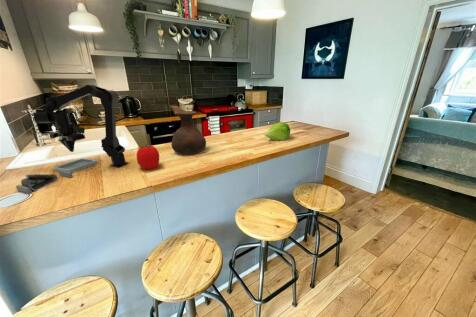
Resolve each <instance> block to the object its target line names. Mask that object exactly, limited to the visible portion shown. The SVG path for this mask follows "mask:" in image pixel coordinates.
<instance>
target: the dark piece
mask: <svg viewBox="0 0 476 317" xmlns="http://www.w3.org/2000/svg"><path fill="white" fill-rule="evenodd" d="M25 177H26V178H22V179H21V181H20V183H21V184H20V185H21V186H25V187H28V188H30V190H31V191H32V190H33V191H35V192H36V191H38V190H39V191H40V190H41V189H44V188H45V187H47V186H49V185H51V184H53V183H55V182H57V181H58V179H59V176H58V175H57V174H54V173H53V174H51V173H50V174H48V173H47V174H46V173H45V174H37V173H36V174H32V173H31V174H26V175H25Z"/></svg>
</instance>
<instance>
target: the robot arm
mask: <svg viewBox="0 0 476 317" xmlns="http://www.w3.org/2000/svg"><path fill="white" fill-rule="evenodd" d="M90 95H92V96H94V97H95V98H97V99H99V100H100V103H101V106H102V107H103V109H104V128H105V137H104V138H102V139H100V141H101V142H100V143H101V146H100V147H101V148H102V150H103V151H104V152H105V153H106V155H107V157H109V158H110V159H111V164H110V165H109V166H111V167H116V168H120V167H123V166H125V165H128V164H129V161H126V158H125V154H124V153H125V151H126V147H124V146H123V145H121V144H120V142H119V138H118V137H117V126H116V125H117V121H116V120H117V119H116V108H117V106H118V103H119V93H117V91H115V90H112V89H111V90H110V89H106V88H103V87H100V86H97V85H95V84H86V85H84V86H82V87H79V88H77V89H74V90H72V91H69V92H67V93H64V94H60V95H53V96H48V97H46V98H45V103H44V104H45V105H44V107H43V109H42V108H37V109H35V112H34V115H33V118H34V120H35V121H36V123H38V124H52V123H55V124H53V125H54V126H53V127H54V128H56V129H57V131H53V132H50V134H49V138H50V139H56V138H58V141H59V142H60V143H61V144H62V145H63V146H64V147H65V148H66V149H67V150H68V151H69V152H70V153H73V152H75V142H76V141H80V140H81V141H82V140H84V139H86V135H85V130H86V128H85V127H81V126H78V125H77V124H74V123H71V120H70V117H69V114H72V113H73V111H71V109H68V108H67V107H68V106H69V105H71V104H72V103H73V102H75V101H77V100H80V99H81V98H84V97H86V96H90Z"/></svg>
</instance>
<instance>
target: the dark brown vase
mask: <svg viewBox="0 0 476 317" xmlns="http://www.w3.org/2000/svg"><path fill="white" fill-rule="evenodd" d="M169 108H170V109H172V112H173V113H174V115H175V116H178V118H179V119H180V126H179V128H178V129H177V130H176V131H175V132H172V136H173V137H172V140H171V143H170V144H171V148H172V150H173V151H174V152H175V154H178V155H180V156H181V155H182V156H192V155H196V154H199V153H201V152H203V151H204V149H205V148H206V146H207V140H206V138H205V136H204V134H203V133H202V132H201V131H200V130H199V129H198V128H197V127H195V125H194V123H193V116H195V115H196V114H197V111H193V110H183V109H182V108H181V107H179V106H177V105H170V106H169Z"/></svg>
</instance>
